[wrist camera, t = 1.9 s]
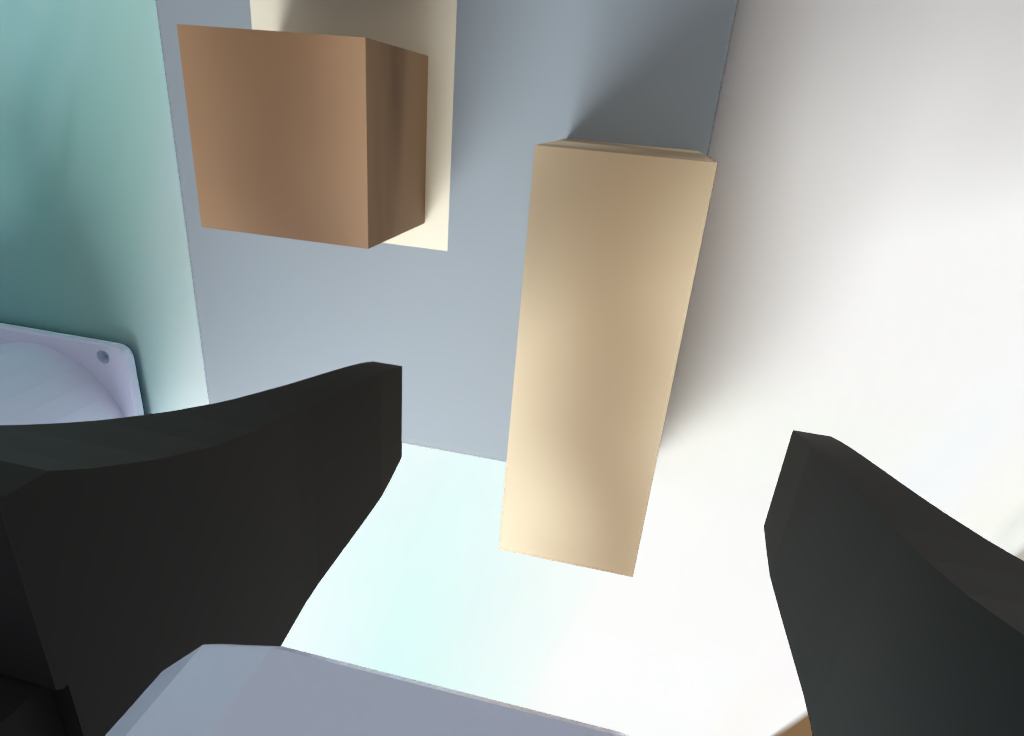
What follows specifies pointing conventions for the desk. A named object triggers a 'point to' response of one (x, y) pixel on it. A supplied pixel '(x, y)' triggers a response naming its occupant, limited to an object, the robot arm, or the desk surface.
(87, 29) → the desk surface
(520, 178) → the board
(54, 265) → the desk surface
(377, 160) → the brown wooden cube
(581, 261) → the tan rectangular block
